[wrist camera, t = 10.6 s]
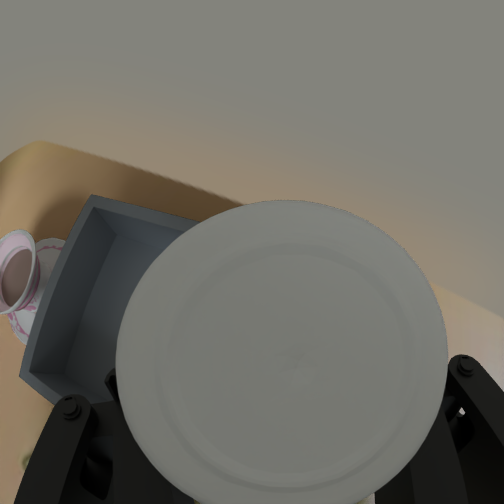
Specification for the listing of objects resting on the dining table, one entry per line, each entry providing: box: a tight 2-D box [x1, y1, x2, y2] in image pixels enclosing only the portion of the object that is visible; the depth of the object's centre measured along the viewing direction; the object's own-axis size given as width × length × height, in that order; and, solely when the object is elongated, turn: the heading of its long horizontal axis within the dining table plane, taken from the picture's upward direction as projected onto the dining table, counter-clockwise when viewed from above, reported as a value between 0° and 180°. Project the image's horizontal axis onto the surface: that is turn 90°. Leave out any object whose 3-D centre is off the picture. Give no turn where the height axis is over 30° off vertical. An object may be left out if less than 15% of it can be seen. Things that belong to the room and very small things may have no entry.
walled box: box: [19, 194, 201, 405], centre depth 18 cm, size 24×16×6 cm, turn 74°
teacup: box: [0, 229, 66, 345], centre depth 19 cm, size 12×12×6 cm
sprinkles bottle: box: [116, 200, 448, 504], centre depth 9 cm, size 5×5×14 cm
